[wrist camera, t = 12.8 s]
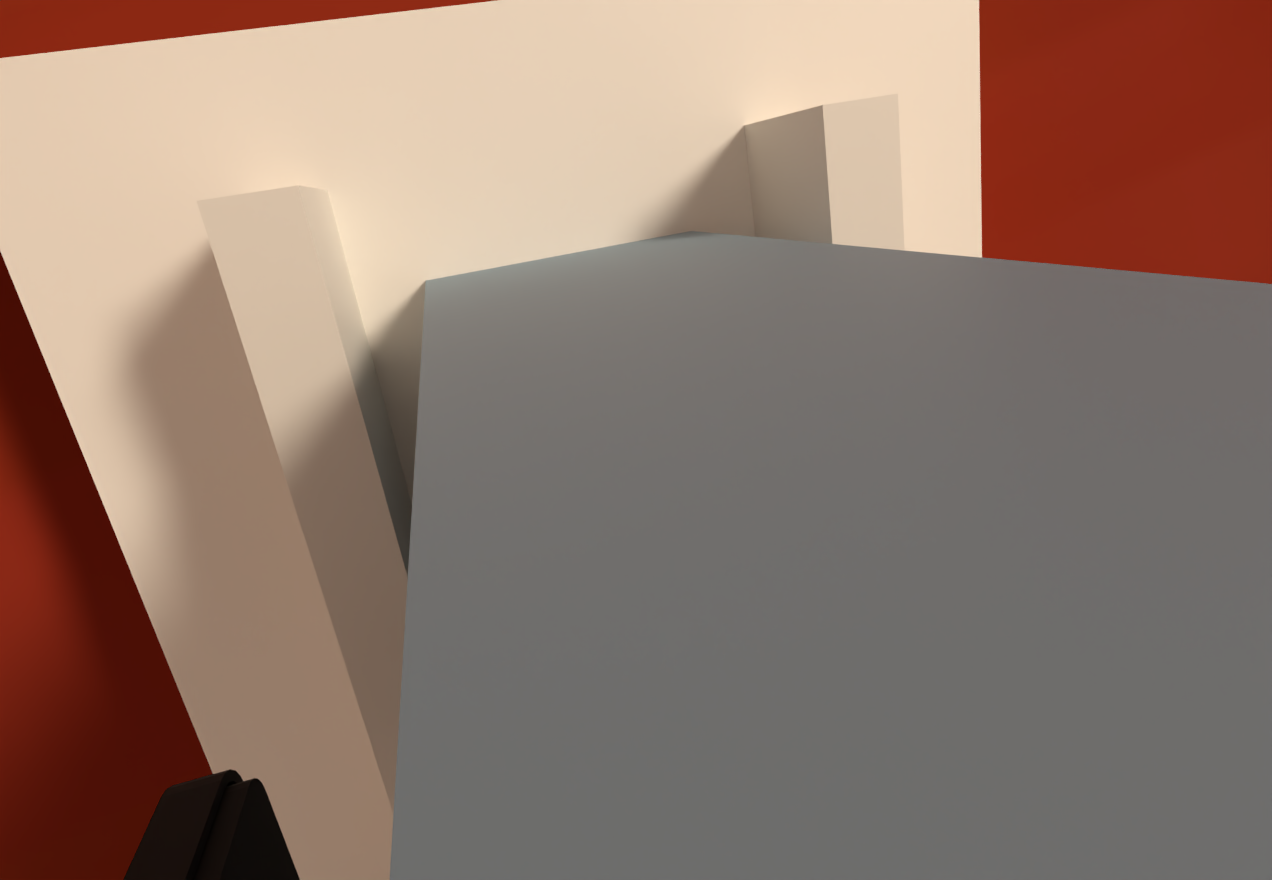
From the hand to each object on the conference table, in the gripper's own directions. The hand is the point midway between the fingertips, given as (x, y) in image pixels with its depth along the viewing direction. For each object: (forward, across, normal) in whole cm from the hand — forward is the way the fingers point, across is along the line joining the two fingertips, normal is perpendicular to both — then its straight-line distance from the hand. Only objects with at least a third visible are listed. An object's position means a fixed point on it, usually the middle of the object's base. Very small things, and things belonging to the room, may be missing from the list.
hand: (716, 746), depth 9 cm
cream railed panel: (+7, 0, 0) cm, 7 cm away
